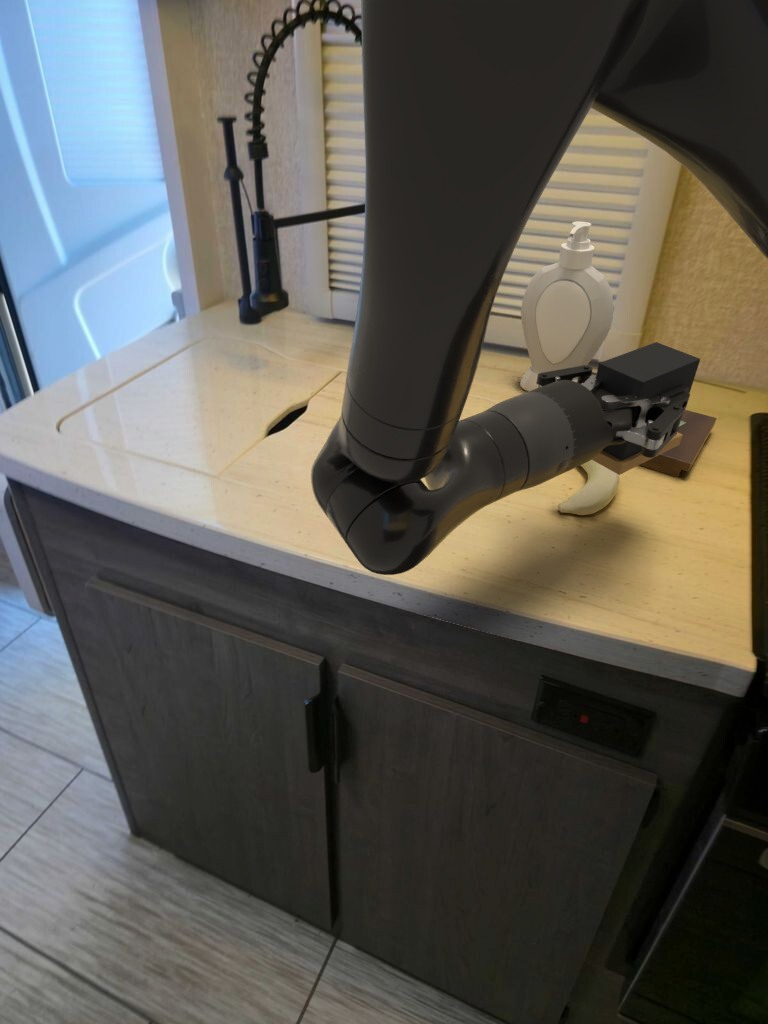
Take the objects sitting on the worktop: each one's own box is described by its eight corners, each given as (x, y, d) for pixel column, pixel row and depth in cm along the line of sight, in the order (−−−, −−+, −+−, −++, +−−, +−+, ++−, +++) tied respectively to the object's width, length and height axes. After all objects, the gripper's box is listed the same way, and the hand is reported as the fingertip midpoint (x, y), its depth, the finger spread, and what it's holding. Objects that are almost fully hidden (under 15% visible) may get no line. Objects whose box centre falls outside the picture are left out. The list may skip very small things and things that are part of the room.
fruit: (610, 453, 87) (615, 431, 85) (621, 522, 76) (628, 498, 74) (554, 448, 89) (558, 426, 87) (557, 515, 77) (561, 491, 75)
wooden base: (711, 433, 92) (717, 417, 90) (685, 481, 82) (691, 463, 81) (598, 402, 99) (602, 386, 97) (562, 443, 89) (566, 426, 88)
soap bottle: (500, 396, 100) (522, 225, 85) (516, 376, 106) (539, 212, 91) (585, 415, 95) (624, 238, 81) (598, 394, 101) (636, 224, 86)
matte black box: (633, 422, 70) (656, 339, 65) (679, 444, 67) (708, 358, 61) (572, 449, 66) (591, 362, 60) (619, 475, 62) (643, 385, 56)
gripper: (615, 432, 49) (741, 375, 57) (481, 365, 58) (607, 324, 66) (595, 514, 53) (714, 450, 61) (473, 439, 62) (591, 392, 71)
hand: (658, 385), depth 64 cm, fingers closed on matte black box, 5 cm apart
